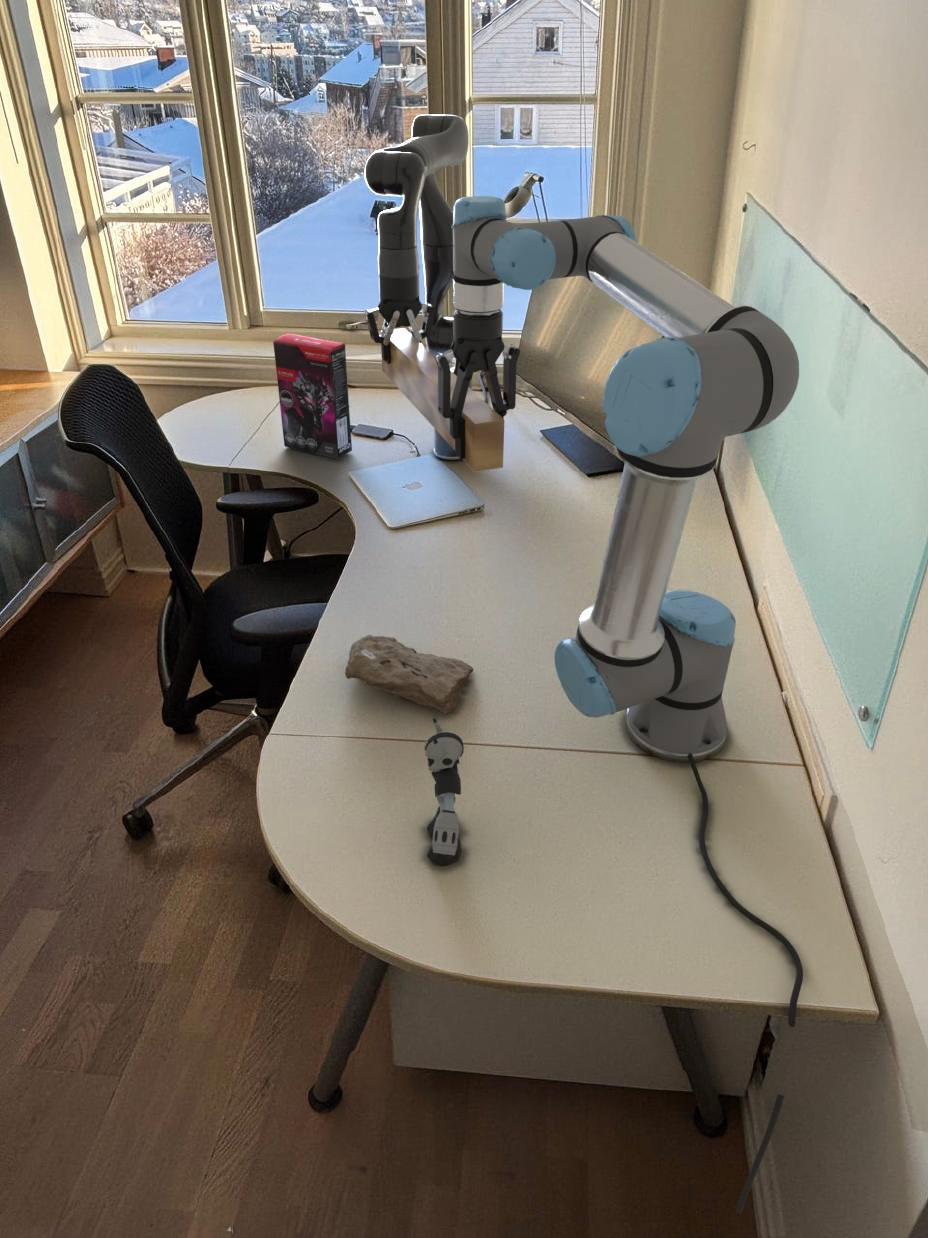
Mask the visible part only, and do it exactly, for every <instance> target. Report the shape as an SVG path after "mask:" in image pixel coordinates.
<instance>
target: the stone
mask: <svg viewBox="0 0 928 1238" xmlns="http://www.w3.org/2000/svg"><path fill="white" fill-rule="evenodd" d="M348 656H349V657H348V660H347V665H346V667H345V672H344V675H345V677H346V678H347V679H358V680H361V681H362V682H364V683H365V685H366V686H367V687H369V688H372V689H379V690H380V691H381V692H385V693H389V694H390V693H391V694H392V693H393V694H395V695H396V696H399V697H401V698H405V699H407V700H408V701H409V700H410V701H412V702H414V703H415V704H418V705H420V706H426V707H433V708H434V709H436V710H438V711H440V712H442V713H445V714H449V713H453V712H454V710H456V708H457V707H458V704H459V702H460V699H461V693H462V691H463V690H464V687H465V686H466V683H467V682H468V680H469V679H470V676H471V675H472V673H473V672H474V668H473V667H472V666H471V665H470V664H468V663H467V662H465V661H463V660H460V659H457V658H451V657H450V658H449V657H444V656H437V655H435V654H433V653H422V652H418V651H417V650H416V649H415V648H413V647H407V646H406V645H404V644H403V643H402V642H399V641H398V640H397V638H395V637H390V636H385V635H379V636H378V635H371V634H368V635H366V636H363V637H361V638H360V639H358V640H356V641H354V642H353V644H351V647H350V650H349V652H348Z"/></svg>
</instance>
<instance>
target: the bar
mask: <svg viewBox="0 0 928 1238" xmlns="http://www.w3.org/2000/svg"><path fill="white" fill-rule="evenodd" d="M381 333H382V330H380V334H381ZM389 344H390V345H391V364H387V363H386V362H385V361H384V360H383V359H382V358H381V370H382V372H383V374H384V375H386V377H387V378H388V379H389V380H390V381H391V382H392V383H393V384H394V386H395V387H396V388H397V389H398V390H399V391H400V392H401V393H402V394H403V395H404V396H405V398H406V399H407V400H408V401H409V402H410V403H411V404H412V405H413V407H415V409H417V411H418V412H419V413H420V414H421V415H422V416H423V417H424V419H425V420H426V421H427V422H428V423H429V424H430V425H431V426H432V427H433V429H434V428H435V429H436V430H437V432H438V433H439V434H440V435H441V436H442V437H443V438H444V439H445V440H446V441H447V443H448V444H449V445H450V446H451V447H452V448H453V449H454V450H455V439H453V438H452V437H451V435H450V418H444V417H443V416H442V415H441V414H440V413H439V412H438V366H437V363H436V360H435V357H434V355H433V354H432V353H431V352H430V351H429V350H428V349H427V346H425V345H424V344H422V342H421V343H420V342H419V341H418V340H417V339H416V338H415V337H414V336H413V335H412V334H411V332H410V331H408V330H407V329H406V327H403V328H395V329H394V333H393V334H392V336H391V339H390V342H389ZM450 371H451V370H450ZM456 380H457V376H456V375H455V374H454V373H453V372H452V371H451V393H450V404H451V400H452V396H453V392H454V388H455V384H456ZM461 417H462V418H463V419H464V420H465V459H462V461H464V463H465V464H466V465H467V466H468V467H469V468H470V470H471V471H473V473H477V472H483V471H490V470H496V469H502V468H503V469H504V449H505V448H504V447H505V446H504V445H505V444H504V443H505V419H503V418H502V417H501V416H500V415H499V414H497V413H496V412H495V411H494V409H493V407H491V406H490V405H489V404H487V402H486V403H485V402H484V399H482V398H481V397H480V396H479V395H478V394H477V393H476V392H475V391H474V390H473V389H472V390H471V389H470V388H469V387H468V391H467V395H466V399H465V403H464V407H463V411H462V415H461Z"/></svg>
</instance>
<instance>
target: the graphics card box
mask: <svg viewBox="0 0 928 1238" xmlns="http://www.w3.org/2000/svg"><path fill="white" fill-rule="evenodd" d="M272 344H273V345H272V346H273V349H274V350H273V353H274V361H275V362H274V363H275V371H276V380H277V381H276V382H277V390H278V398H279V399H278V400H279V408H280V417H281V418H280V419H281V428H282V435H283V436H282V437H283V446H284V447H285V448H289V449H294V450H298V451H302V452H306V453H311V454H315V455H319V456H323V457H328V458H333V459H336V460H338V459H339V460H340V458H342V457H344V456H346V455H347V454H349V453H350V452H352V451H353V446H352V429H351V415H350V402H349V401H350V400H349V385H348V370H347V356H346V343H345V342H339V341H338V342H337V341H333V340H327V339H321V338H317V337H311V336H305V335H300V334H295V333H289V332H288V333H285V334H282V335H280V336H279V337H277V338H276V339H274V340H273V342H272Z"/></svg>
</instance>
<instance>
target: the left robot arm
mask: <svg viewBox="0 0 928 1238" xmlns="http://www.w3.org/2000/svg"><path fill="white" fill-rule="evenodd" d="M410 137H411V138H410V139H408V140H406V141H403V142H402V143H401V144H399V145H398V146H392V147H385V148H381V149H378V150H375V151H374V152H373V153H371V154H370V156H369V157H368V159H367V161H366V163H365V166H364V180H365V183H366V185H367V187H368V188H369V190H370V191H371V192H373V193H374V194H375V195H378V196H389V197H402V198H403V200H402V204H401V205H400V206H399V207H394V208H390V209H386V210H383V211H381V212H379V214H378V217H377V234H378V235H377V236H378V237H377V238H378V253H377V262H378V263H377V267H378V268H377V269H378V290H379V291H378V292H379V301H378V305H377V307H376V308H372V309H368V308H367V309H365V310H364V311H363V315H364V318H365V321H366V325H367V327H368V332H369V335H370V338H371V340H372V341H373V342H374V343H375V344H380V351H381V352H380V353H381V360H382V359H383V360H384V361H385V362H386V363H387V364H391V345H390V344H389V342H390V339H391V336H392V334H393V333H394V329H399V328H401V327H404V328H408V330H409V333H410V334H411V335H413V336H414V337H415V338H416V339H417V340H418V341H419V342H420V343H421V344H422V341H423V339H425V344H426V348H427V349H428V350H429V351H430V352H431V353H432V354H433V355H434V356H435V354H436V353H437V352H440V353H441V354H442V353H444V352H446V351H448V350H450V349H451V345H452V343H453V340H454V336H453V316H452V317H450V316H446V315H445V301H446V298H447V295H448V293H449V292H450V289H451V287H452V286H453V274H454V273H453V230H452V225H453V215H454V209H453V208H452V207H451V206H450V203H448V201H447V199H446V198H445V196H444V194H443V192H442V191H441V188H440V186H439V183H438V180H437V177H436V173H435V172H438V171H440V170H443V169H445V168H447V167H454V166H458V165H461V164H462V163H464V161H465V159H466V157H467V155H468V151H469V143H470V142H469V139H470V138H469V128H468V125H467V123H466V121H465V120H464V119H463V117H460V116H458V115H454V114H419V115H417V116H416V117H414V119H413V122H412V125H411V136H410ZM418 213H419V221H420V222H419V223H420V243H421V255H422V257H421V258H422V264H423V277H424V288H425V289H424V291H425V294H424V295H425V303H422V302H421V299H420V263H419V261H420V260H419V253H418V235H417V234H418V231H417V229H418V227H417V226H418V225H417V224H418V223H417V222H418ZM420 312H421V315H423V317H422V323H421V328H420V329H419V325H418V323H417V321H416V319H417V317H418V316H419V314H420ZM379 315H380V316H381V317H382V318H383V324H382V328H381V329H382V330H381V331H382V333H381V332H380V333H379V329H378V326H377V322H378V320H379ZM452 360H454V366H451V367H450V370H451V371H452V372H453V373H454V374H455V375H456V376H457V375H458V372H457V370H458V366H459V362H458V361H457V360H456V358H455V357H453V359H452ZM483 373H484V371H479V373H478V375H477V377H478V381H479V383H480V387H481V390H482V394H483V401H484V402H485V403H487V401H488V398H487V397H488V396H487V390H486V387H485V385H484V381H483V379H482V375H483ZM473 376H474V375H473ZM473 376H472V379H471V380H470V383H469V388H470V389H471V390H472V391H473ZM433 454H434V456H435V457H437V458H439V459H442V460H446V461H459V460H461V459H460V458H459V457H458V456H457V455H456V454H455V450H454V449H453V448H452V447H451V446H450V445H449V444H448V443H447V441H446V440H445V439H444V438H443V437H442V436H441V435H440V434H439V433H438V432H437V430H436V429H435V428H434V427H433Z"/></svg>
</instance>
